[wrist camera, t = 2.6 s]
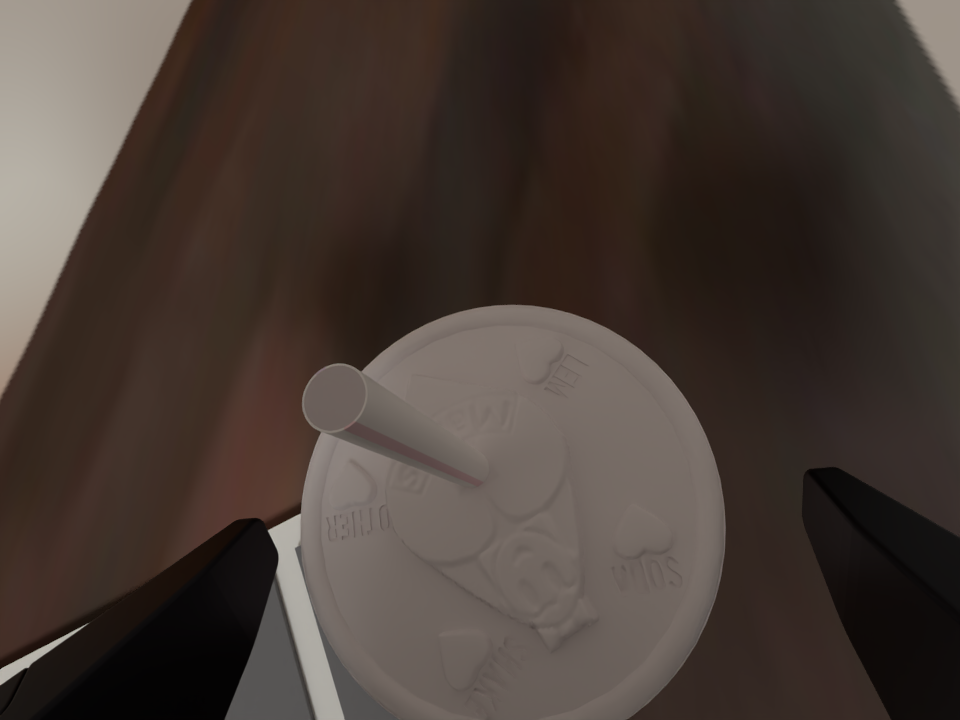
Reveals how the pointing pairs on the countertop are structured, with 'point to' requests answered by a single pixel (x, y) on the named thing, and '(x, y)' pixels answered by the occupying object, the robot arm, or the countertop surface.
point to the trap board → (283, 655)
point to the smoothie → (510, 520)
